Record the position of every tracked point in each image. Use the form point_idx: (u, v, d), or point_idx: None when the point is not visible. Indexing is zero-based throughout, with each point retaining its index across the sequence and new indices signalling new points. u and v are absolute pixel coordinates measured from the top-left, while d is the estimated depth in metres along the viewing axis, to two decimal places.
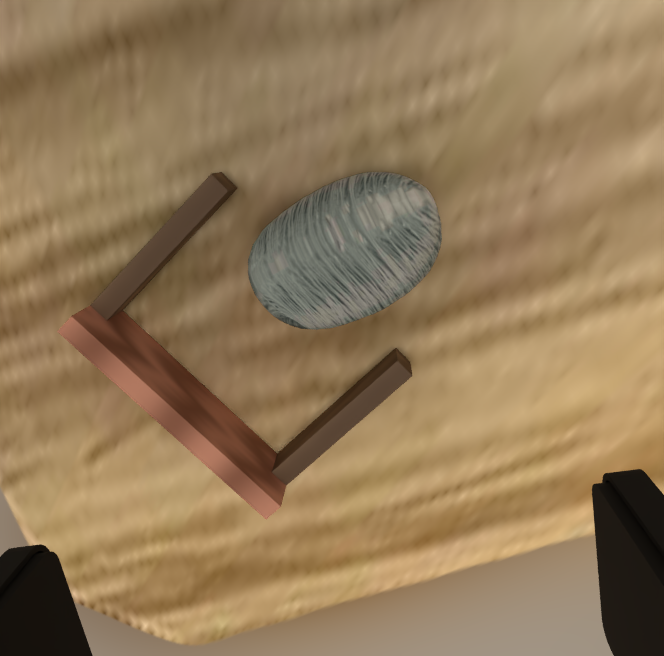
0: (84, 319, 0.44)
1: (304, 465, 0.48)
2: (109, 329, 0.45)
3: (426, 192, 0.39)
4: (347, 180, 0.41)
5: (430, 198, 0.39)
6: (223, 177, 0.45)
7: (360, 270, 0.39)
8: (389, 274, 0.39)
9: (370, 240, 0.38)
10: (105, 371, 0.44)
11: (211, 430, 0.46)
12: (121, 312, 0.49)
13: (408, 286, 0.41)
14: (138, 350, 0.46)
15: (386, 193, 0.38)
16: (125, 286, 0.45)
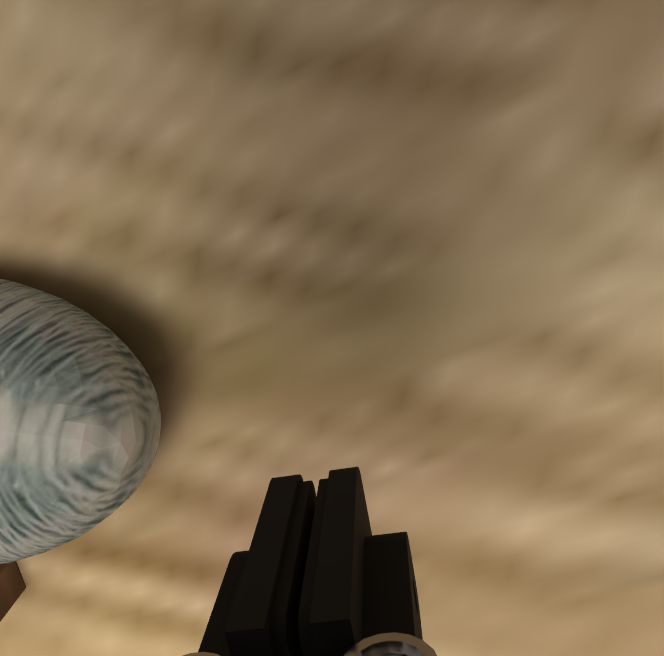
0: None
1: None
2: None
3: (119, 433, 0.18)
4: (0, 310, 0.19)
5: (120, 448, 0.19)
6: None
7: None
8: None
9: None
10: None
11: None
12: None
13: None
14: None
15: (26, 401, 0.17)
16: None
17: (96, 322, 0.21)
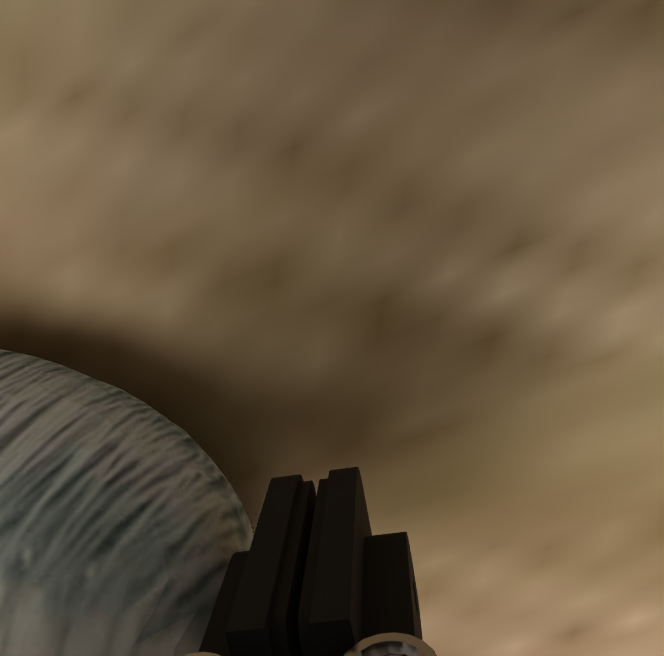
0: None
1: None
2: None
3: None
4: (23, 422, 0.11)
5: None
6: None
7: None
8: None
9: None
10: None
11: None
12: None
13: None
14: None
15: (71, 612, 0.09)
16: None
17: (172, 429, 0.13)
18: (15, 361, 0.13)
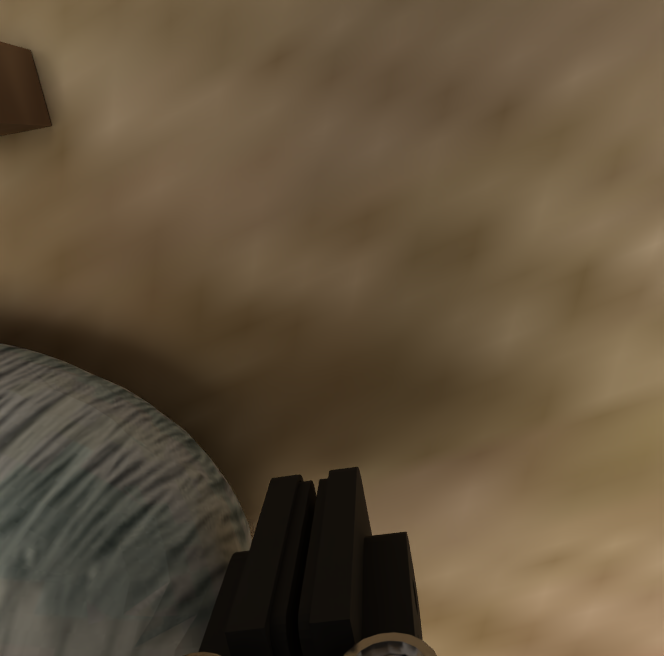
0: None
1: None
2: None
3: None
4: (28, 419, 0.11)
5: None
6: (16, 68, 0.13)
7: None
8: None
9: None
10: None
11: None
12: None
13: None
14: None
15: (72, 613, 0.09)
16: None
17: (175, 430, 0.13)
18: (19, 357, 0.13)
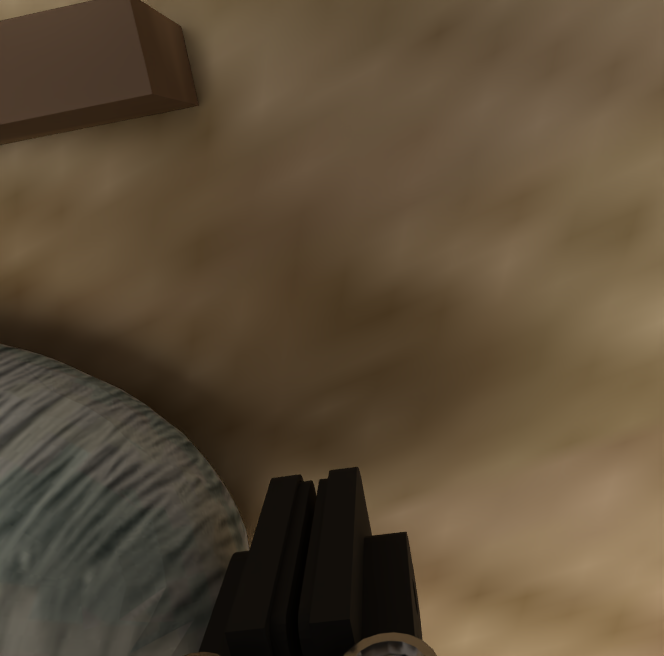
0: None
1: None
2: None
3: None
4: (24, 421, 0.11)
5: None
6: (174, 44, 0.13)
7: None
8: None
9: None
10: None
11: None
12: None
13: None
14: None
15: (67, 618, 0.09)
16: None
17: (172, 432, 0.13)
18: (16, 357, 0.12)
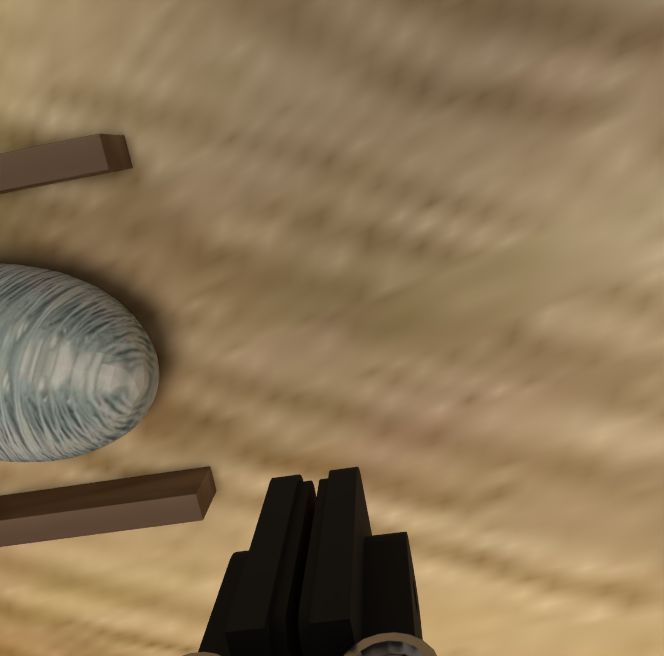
0: None
1: (10, 541, 0.35)
2: None
3: (135, 376, 0.28)
4: (62, 291, 0.29)
5: (134, 386, 0.28)
6: (120, 145, 0.31)
7: None
8: (17, 440, 0.28)
9: (14, 391, 0.27)
10: None
11: None
12: None
13: (45, 460, 0.29)
14: None
15: (79, 349, 0.27)
16: None
17: (121, 305, 0.31)
18: (57, 273, 0.31)
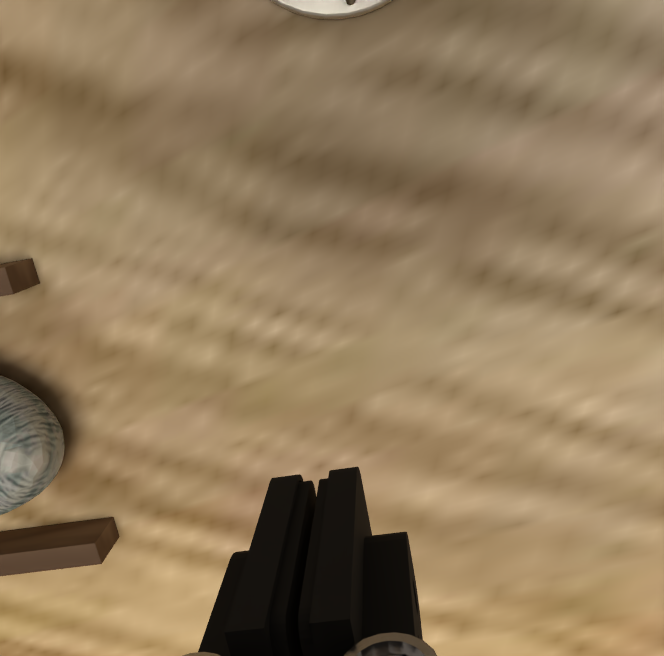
0: None
1: None
2: None
3: (33, 457, 0.36)
4: None
5: (33, 465, 0.36)
6: (27, 268, 0.38)
7: None
8: None
9: None
10: None
11: None
12: None
13: None
14: None
15: None
16: None
17: (29, 395, 0.39)
18: None
